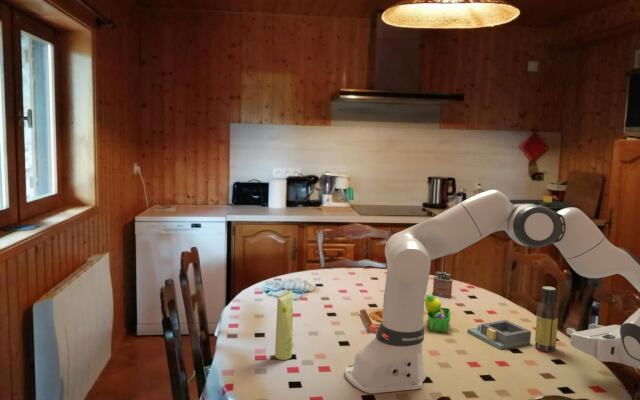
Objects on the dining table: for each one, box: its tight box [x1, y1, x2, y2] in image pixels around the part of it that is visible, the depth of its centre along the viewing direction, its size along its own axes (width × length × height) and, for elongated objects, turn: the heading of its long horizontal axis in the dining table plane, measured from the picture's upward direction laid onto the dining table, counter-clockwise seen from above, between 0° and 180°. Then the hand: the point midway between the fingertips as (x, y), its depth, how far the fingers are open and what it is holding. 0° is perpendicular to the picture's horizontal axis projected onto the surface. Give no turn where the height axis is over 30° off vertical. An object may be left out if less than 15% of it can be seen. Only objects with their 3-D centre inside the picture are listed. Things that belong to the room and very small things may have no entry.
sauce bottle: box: [534, 285, 559, 353], centre depth 169 cm, size 6×6×20 cm
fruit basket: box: [424, 294, 452, 333], centre depth 185 cm, size 11×9×11 cm
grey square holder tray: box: [467, 320, 531, 350], centre depth 177 cm, size 13×15×3 cm
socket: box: [480, 319, 532, 345], centre depth 176 cm, size 12×11×3 cm
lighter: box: [431, 271, 454, 299], centre depth 220 cm, size 8×3×10 cm, turn 58°
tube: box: [274, 289, 293, 361], centre depth 155 cm, size 6×5×20 cm
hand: (579, 328), depth 159 cm, fingers open, 8 cm apart
